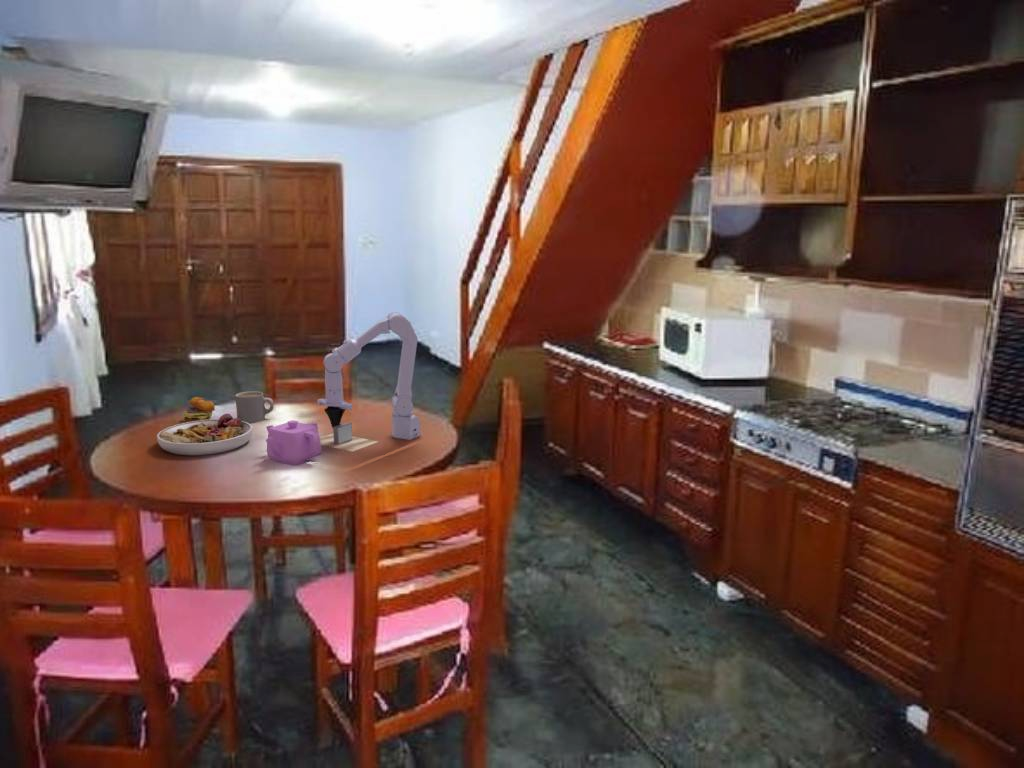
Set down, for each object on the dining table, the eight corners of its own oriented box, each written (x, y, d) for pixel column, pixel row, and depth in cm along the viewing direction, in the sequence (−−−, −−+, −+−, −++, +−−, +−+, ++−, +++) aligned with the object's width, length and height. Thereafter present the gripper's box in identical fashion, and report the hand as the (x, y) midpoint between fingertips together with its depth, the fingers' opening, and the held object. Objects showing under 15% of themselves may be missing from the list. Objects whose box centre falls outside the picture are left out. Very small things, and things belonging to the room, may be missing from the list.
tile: (352, 439, 256) (352, 422, 255) (338, 444, 250) (337, 427, 249) (348, 438, 257) (347, 422, 256) (334, 443, 251) (333, 426, 250)
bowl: (221, 461, 237) (219, 437, 235) (138, 455, 243) (135, 431, 241) (269, 435, 266) (268, 414, 264) (194, 430, 271) (192, 409, 270)
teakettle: (322, 464, 235) (320, 426, 232) (265, 468, 230) (263, 430, 227) (321, 448, 251) (319, 412, 248) (268, 452, 246) (265, 416, 243)
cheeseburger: (181, 418, 285) (185, 393, 284) (210, 422, 290) (215, 397, 289) (181, 424, 276) (186, 398, 275) (212, 428, 281) (217, 402, 280)
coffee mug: (233, 423, 280) (231, 397, 277) (241, 416, 289) (240, 391, 287) (270, 423, 280) (268, 397, 278) (276, 416, 290) (275, 391, 288)
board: (378, 445, 254) (378, 441, 254) (352, 455, 243) (351, 451, 243) (335, 435, 264) (335, 432, 264) (308, 445, 254) (308, 441, 253)
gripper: (309, 388, 252) (312, 427, 255) (341, 394, 244) (343, 434, 247) (325, 384, 258) (327, 422, 261) (356, 390, 250) (358, 429, 253)
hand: (335, 427), depth 254 cm, fingers closed
